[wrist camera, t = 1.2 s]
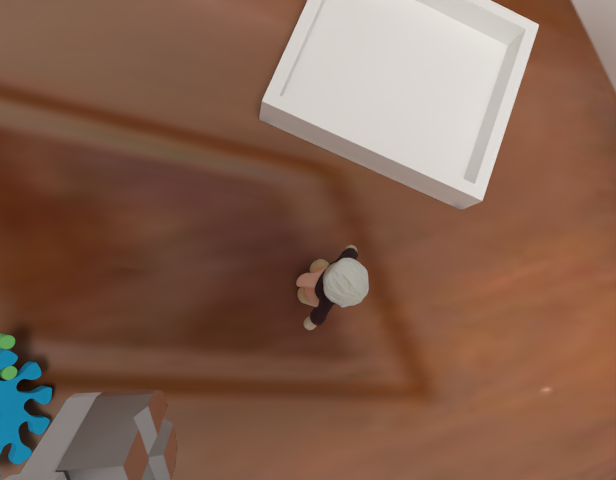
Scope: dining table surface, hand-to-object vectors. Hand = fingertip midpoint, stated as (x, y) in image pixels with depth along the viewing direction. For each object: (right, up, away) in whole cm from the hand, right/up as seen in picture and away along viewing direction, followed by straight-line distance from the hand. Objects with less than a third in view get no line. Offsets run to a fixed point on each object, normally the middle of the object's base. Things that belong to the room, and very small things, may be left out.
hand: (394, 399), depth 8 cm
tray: (+8, +19, +40) cm, 45 cm away
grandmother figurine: (-1, -2, +35) cm, 35 cm away
